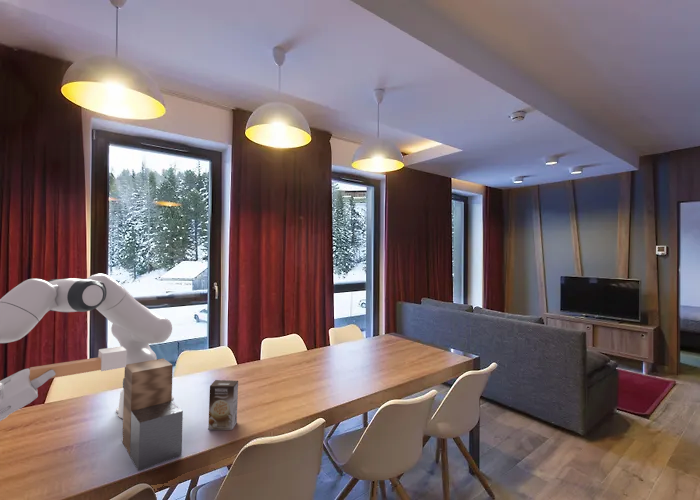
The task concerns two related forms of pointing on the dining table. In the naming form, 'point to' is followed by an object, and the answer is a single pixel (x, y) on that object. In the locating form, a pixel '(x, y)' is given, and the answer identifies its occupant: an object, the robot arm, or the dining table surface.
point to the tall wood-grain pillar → (145, 389)
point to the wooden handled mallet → (85, 364)
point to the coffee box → (223, 405)
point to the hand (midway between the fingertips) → (53, 369)
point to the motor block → (156, 434)
